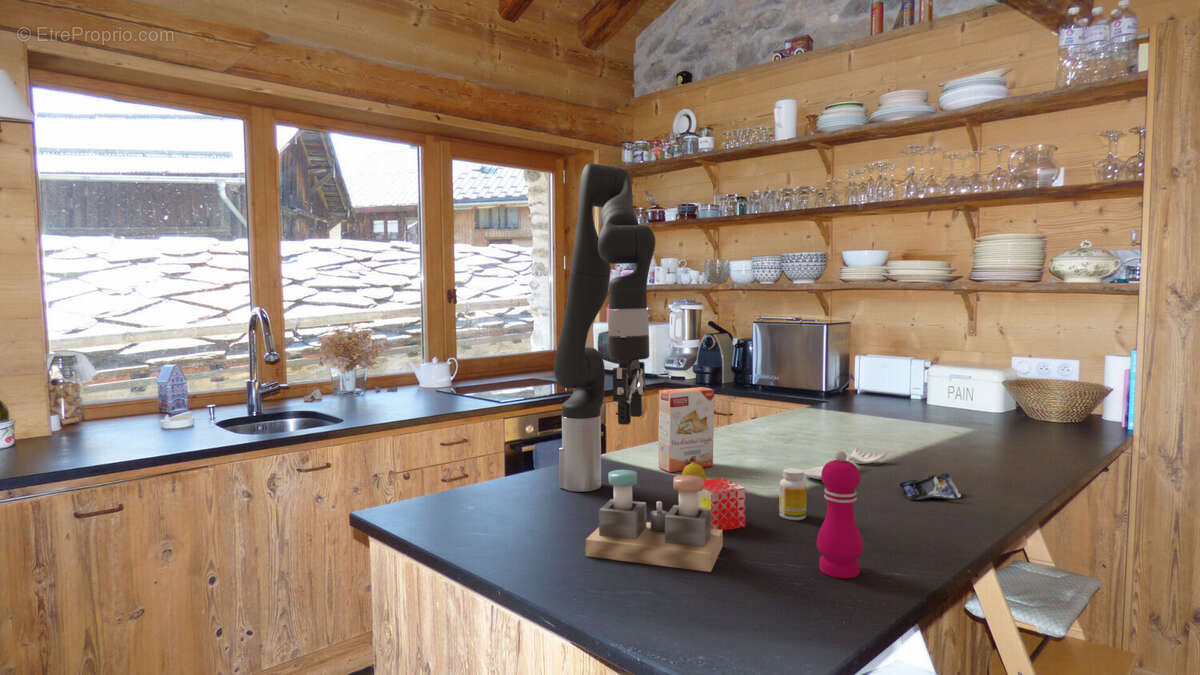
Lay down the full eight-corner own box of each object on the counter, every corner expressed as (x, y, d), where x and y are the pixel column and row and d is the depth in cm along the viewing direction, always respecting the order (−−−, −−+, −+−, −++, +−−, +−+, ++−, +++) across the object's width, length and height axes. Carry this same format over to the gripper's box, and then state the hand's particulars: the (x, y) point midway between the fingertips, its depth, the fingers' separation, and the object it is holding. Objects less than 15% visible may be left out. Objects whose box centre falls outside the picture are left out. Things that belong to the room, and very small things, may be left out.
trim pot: (648, 531, 123) (648, 504, 122) (653, 525, 126) (653, 498, 125) (665, 533, 122) (665, 505, 121) (670, 527, 125) (669, 500, 124)
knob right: (670, 519, 117) (670, 481, 117) (677, 510, 122) (677, 473, 121) (700, 522, 115) (700, 484, 115) (705, 512, 120) (706, 476, 120)
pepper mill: (809, 563, 115) (810, 446, 114) (850, 561, 116) (852, 445, 114) (827, 581, 108) (828, 457, 107) (871, 579, 108) (873, 455, 107)
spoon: (888, 463, 182) (888, 451, 182) (827, 487, 161) (827, 473, 160) (856, 458, 189) (856, 445, 188) (793, 480, 167) (793, 466, 167)
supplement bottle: (773, 514, 140) (774, 469, 140) (793, 510, 143) (794, 465, 142) (791, 522, 136) (792, 475, 135) (812, 518, 138) (812, 471, 137)
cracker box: (670, 473, 173) (670, 392, 172) (657, 468, 178) (657, 389, 177) (714, 467, 179) (715, 388, 178) (701, 462, 185) (701, 385, 183)
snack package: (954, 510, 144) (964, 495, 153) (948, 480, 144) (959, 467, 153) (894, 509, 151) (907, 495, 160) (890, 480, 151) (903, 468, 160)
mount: (585, 556, 119) (585, 513, 119) (607, 533, 130) (607, 494, 130) (710, 572, 112) (710, 526, 111) (722, 546, 123) (722, 505, 123)
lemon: (705, 501, 150) (705, 465, 149) (680, 500, 151) (680, 464, 150) (706, 494, 155) (706, 459, 155) (682, 492, 156) (682, 458, 156)
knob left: (604, 512, 121) (604, 476, 121) (613, 503, 126) (613, 468, 125) (632, 515, 119) (632, 478, 119) (640, 506, 124) (640, 470, 124)
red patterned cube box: (689, 520, 137) (689, 482, 137) (722, 515, 141) (722, 477, 140) (711, 533, 130) (711, 492, 130) (745, 527, 133) (745, 487, 133)
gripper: (619, 332, 134) (621, 413, 134) (597, 335, 120) (599, 426, 121) (656, 331, 131) (658, 414, 132) (638, 334, 118) (640, 427, 118)
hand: (630, 420), depth 126 cm, fingers open, 8 cm apart
